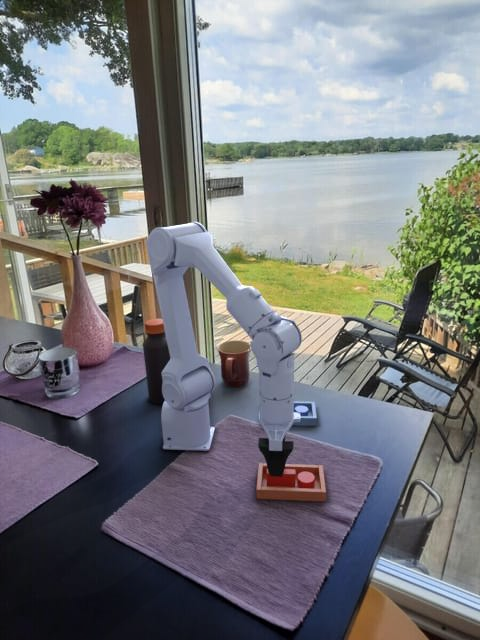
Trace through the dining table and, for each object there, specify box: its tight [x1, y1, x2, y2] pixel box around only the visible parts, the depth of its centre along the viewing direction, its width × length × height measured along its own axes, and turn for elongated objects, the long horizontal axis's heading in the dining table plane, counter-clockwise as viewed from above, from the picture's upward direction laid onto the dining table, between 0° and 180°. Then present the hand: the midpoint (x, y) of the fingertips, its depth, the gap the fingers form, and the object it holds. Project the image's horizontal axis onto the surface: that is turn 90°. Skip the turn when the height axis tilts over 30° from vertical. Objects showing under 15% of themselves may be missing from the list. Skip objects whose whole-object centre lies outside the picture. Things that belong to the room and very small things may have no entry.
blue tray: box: [292, 400, 318, 427], centre depth 99 cm, size 12×7×2 cm, turn 85°
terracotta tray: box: [255, 462, 327, 502], centre depth 77 cm, size 12×7×2 cm, turn 85°
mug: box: [216, 340, 252, 389], centre depth 112 cm, size 12×9×10 cm
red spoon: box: [267, 468, 315, 489], centre depth 77 cm, size 8×3×3 cm, turn 84°
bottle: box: [142, 318, 170, 405], centre depth 106 cm, size 7×7×20 cm
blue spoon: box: [295, 406, 308, 416], centre depth 98 cm, size 8×3×3 cm, turn 85°
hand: (276, 460), depth 77 cm, fingers open, 7 cm apart
